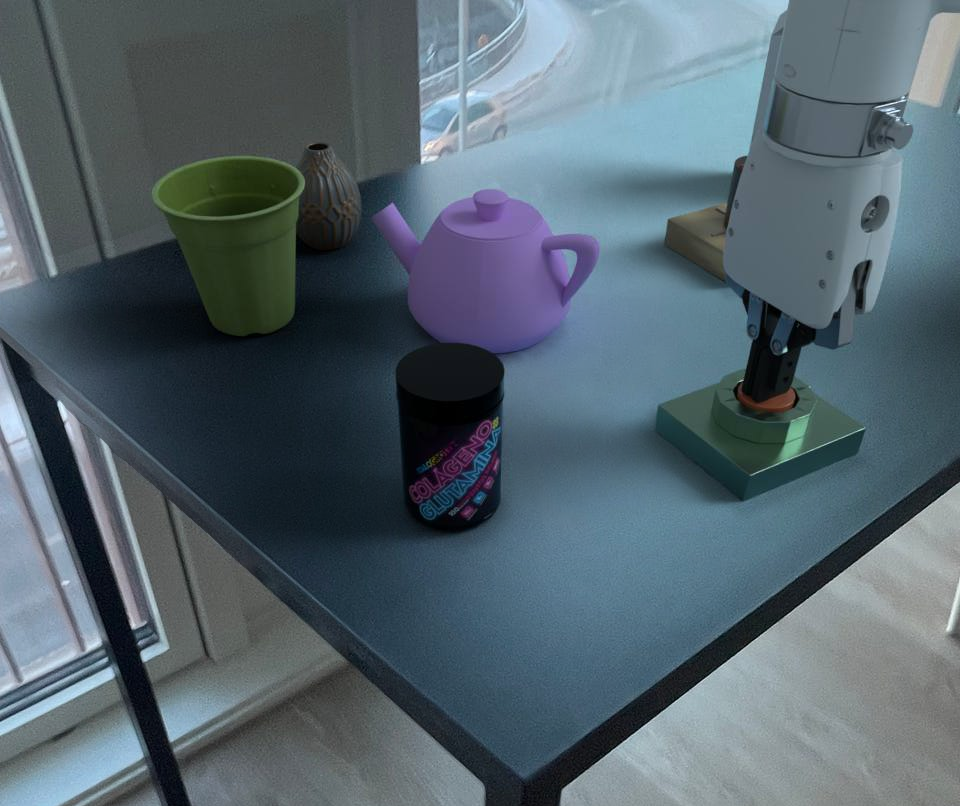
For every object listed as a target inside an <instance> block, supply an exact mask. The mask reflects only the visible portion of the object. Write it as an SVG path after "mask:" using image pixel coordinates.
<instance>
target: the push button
mask: <svg viewBox="0 0 960 806" xmlns="http://www.w3.org/2000/svg"><path fill="white" fill-rule="evenodd" d="M742 384H743V382H742V383H741V384H740V385H739V387H738V392H737V396H736V400H738V401H739V402H740V403H742V404H743V405H745V406H746V407H747V408H750V409H754V410H757V411H761V412H764V413H766V412H784V411H787V410H789V409H792V408H793V404H794V400H795V393H794V391H793V389H792V388H791V387H790V389H789V391H788V392H787V393H784V394H781V395H779V396H776V397H774V398H771V399H768V400H766V401H763V402H760V403H757V402H756V401H754V400H753V399H752V396H751V395H750V396H747V395H746V394H744V393H743V392H742V391H741V389H742Z"/></svg>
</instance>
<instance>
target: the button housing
mask: <svg viewBox="0 0 960 806" xmlns="http://www.w3.org/2000/svg"><path fill="white" fill-rule="evenodd" d="M745 371H746V368H743V369H739V370H736V371H733V372H731V373H729V374H725V375H723V377H722V378H721V379H720V381H719V382H717V383H714V384H711V385H707V386H705V387H703V388H700V389H698V390H694V391H692V392H689V393H686V394H684V395H681V396H678V397H675V398H673V399H670V400H667V401H664V402H661V403H659V404H658V405H657V410H656V416H655V423H654V430H655V431H656V432H657V433H658V434H659V435H660V436H661V437H663V438H664V439H666V440H667V441H668V442H669V443H671V444H672V445H673V446H674V447H676V448H677V449H678V450H680V451H681V452H682V453H683V454H684V455H686V456H687V457H688V458H689V459H690V460H692V462H694V463H696V464H697V465H698V466H699V467H701V468H702V469H703V470H705V472H707V473H708V474H709V475H711V477H713V478H715V480H717V481H718V482H720V484H722V485H723V486H724V487H726V488H727V489H728V490H730V491H731V492H732V493H733V494H734V495H735V496H737V497H739V499H741V500H742V501H743V502H745V501H747V500H750V499H752V498H754V497H757V496H760V495H761V494H763V493H766V492H769V491H771V490H773V489H775V488H778V487H780V486H782V485H785V484H788V483H790V482H793V481H795V480H796V479H799V478H801V477H804V476H806V475H808V474H811V473H814V472H815V471H819V470H821V469H823V468H825V467H827V466H830V465H833V464H834V463H837V462H839V461H841V460H842V461H843V460H844V459H846V458H849V457H851V456H853V455H856V454H858V453H859V451H860V448H861V444H862V443H863V439H864V435H865V433H866V430H867V427H866V426H864V425H863V424H862V423H860V422H859V421H857V420H855V419H854V418H852V417H851V416H849V415H848V414H847V413H845V412H843V411H842V410H841V409H839V408H837V406H834V405H833V404H832V403H830V402H829V401H827V400H825V399H824V398H822V397H821V396H819V395H818V394H816V393H815V392H814V391H813V389H812V387H811V386H810V385H809V384H807V383H806V382H804V381H802V380H801V379H800V378H798V377H796V376H795V375H794V378H793V382H792V385H791V388H792V389H793V391H794V393H795V400H794V404H793V408H792V409H789V410H787V411H784V412H766V413H764V412H761V411H757V410H754V409H750V408H747V407H746V406H745V405H743V404H742V403H740V402H739V401H738V400H736V396H737V392H738V387H739V385H740V384H741V383H742V382H743V380H744V376H745Z"/></svg>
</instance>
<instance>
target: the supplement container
mask: <svg viewBox="0 0 960 806" xmlns="http://www.w3.org/2000/svg"><path fill="white" fill-rule="evenodd" d="M394 372H395V374H394V375H395V396H396V397H395V399H396V401H397V413H398V416H397V417H398V428H399V445H400V460H401V461H400V462H401V463H400V464H401V477H402V478H401V479H402V496H403V503H404V506H405V508H406V510H407V513H408V514H409V515H410V516H411V517H412V518H413V519H414V520H415V521H417V522H418V523H419V524H421V525H422V526H424V527H427V528H429V529H432V530H435V531H439V532H445V533H447V532H448V533H456V532H464V531H469V530H472V529H475V528H477V527H479V526H482V525H483V524H485V523H486V522H488V521H489V520H490V519H491V518H492V517H493V516H494V515H495V513H496V512H497V510H498V508H499V506H500V504H501V500H502V471H503V470H502V465H503V427H504V424H503V423H504V399H505V366H504V364H503V362H502V360H501V359H500V358H499V357H498V356H497V355H496V354H495V353H491V352H490V351H488V350H486V349H483V348H481V347H478V346H474V345H470V344H464V343H441V342H436V343H431V344H427V345H423V346H420V347H418V348H415V349H413V350H412V351H409V352H408V353H406V354H404V356H402V357H401V358H400V359H399V361H398V363H397V364H396V366H395V371H394Z"/></svg>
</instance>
